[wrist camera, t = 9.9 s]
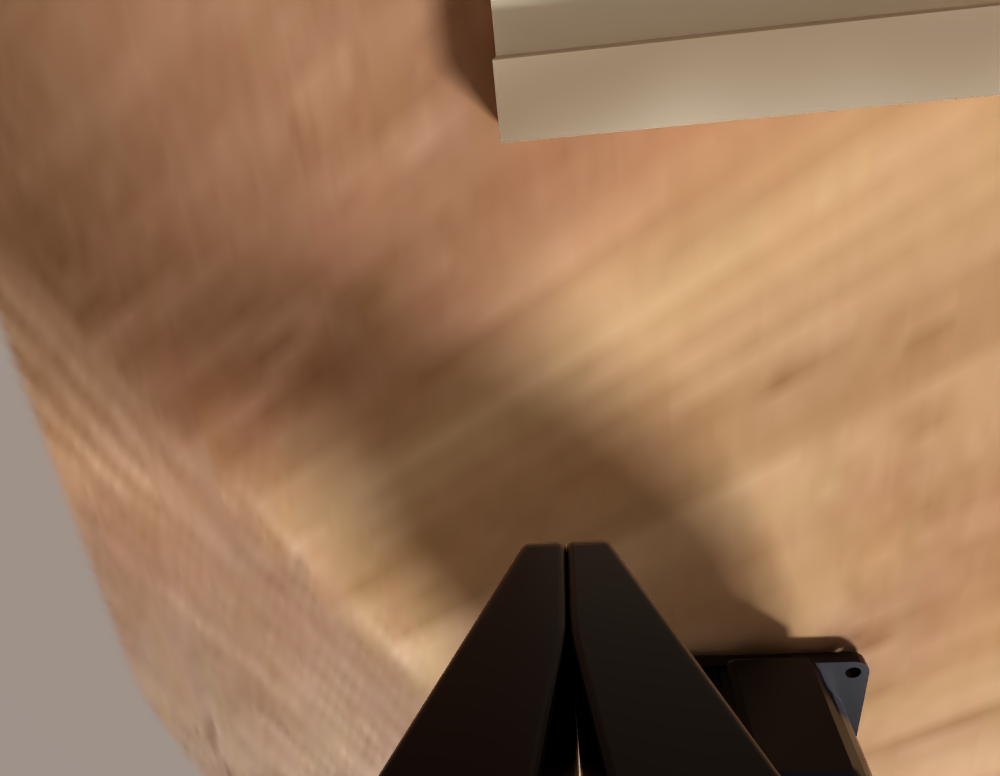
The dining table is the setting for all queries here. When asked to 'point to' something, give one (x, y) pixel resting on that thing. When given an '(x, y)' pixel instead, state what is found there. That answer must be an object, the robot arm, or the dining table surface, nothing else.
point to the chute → (730, 60)
